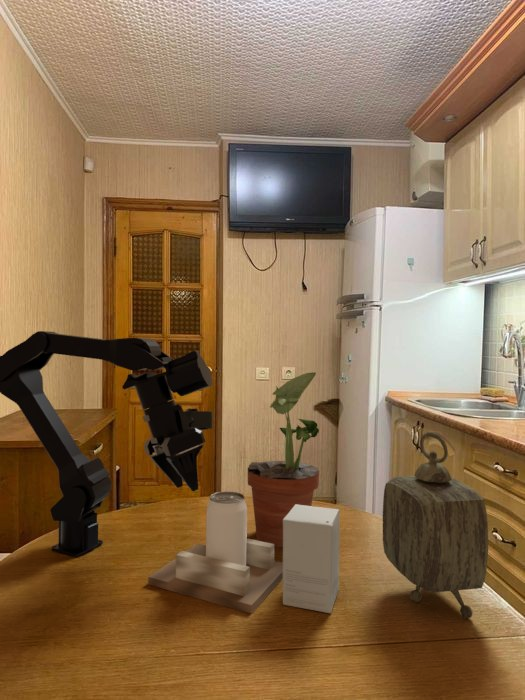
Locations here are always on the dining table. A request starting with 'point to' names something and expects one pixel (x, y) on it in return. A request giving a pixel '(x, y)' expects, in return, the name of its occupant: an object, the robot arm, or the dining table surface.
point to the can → (227, 527)
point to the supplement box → (311, 557)
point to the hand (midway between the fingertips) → (187, 488)
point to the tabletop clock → (436, 529)
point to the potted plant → (283, 470)
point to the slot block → (222, 576)
